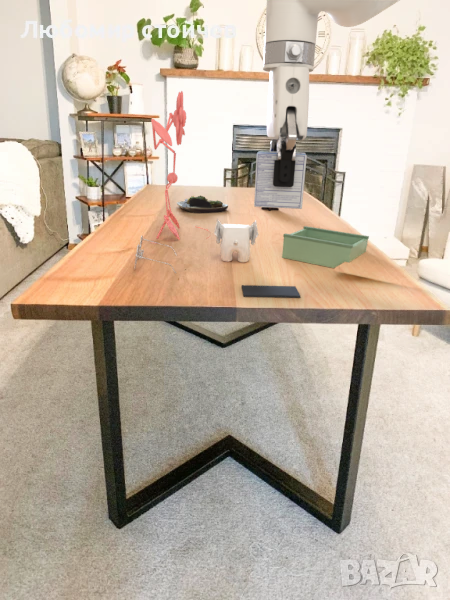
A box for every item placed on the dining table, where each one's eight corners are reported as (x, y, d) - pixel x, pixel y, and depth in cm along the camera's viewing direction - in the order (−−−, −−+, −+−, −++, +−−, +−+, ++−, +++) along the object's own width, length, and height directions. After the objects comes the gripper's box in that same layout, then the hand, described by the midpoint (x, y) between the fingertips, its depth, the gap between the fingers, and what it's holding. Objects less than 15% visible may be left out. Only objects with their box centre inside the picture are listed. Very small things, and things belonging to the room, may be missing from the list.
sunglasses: (139, 254, 99) (142, 233, 98) (176, 260, 101) (179, 239, 99) (132, 273, 87) (135, 249, 85) (175, 280, 88) (179, 256, 86)
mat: (295, 288, 82) (295, 286, 82) (300, 298, 78) (300, 295, 77) (241, 287, 82) (241, 285, 82) (243, 296, 77) (243, 294, 77)
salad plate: (166, 204, 163) (165, 192, 161) (210, 202, 170) (210, 190, 169) (186, 214, 147) (186, 200, 145) (233, 211, 154) (234, 198, 153)
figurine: (148, 247, 106) (144, 85, 93) (160, 224, 130) (157, 93, 117) (213, 248, 107) (216, 88, 94) (212, 226, 131) (215, 96, 118)
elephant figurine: (254, 251, 106) (257, 214, 102) (257, 266, 94) (259, 225, 91) (214, 249, 106) (216, 212, 102) (212, 264, 94) (213, 223, 91)
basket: (365, 259, 102) (369, 236, 100) (348, 271, 93) (351, 245, 91) (302, 247, 111) (305, 226, 109) (281, 257, 101) (283, 234, 99)
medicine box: (301, 205, 76) (306, 152, 72) (302, 210, 71) (307, 153, 68) (255, 203, 76) (258, 150, 73) (253, 207, 72) (256, 151, 69)
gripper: (329, 51, 58) (315, 192, 65) (300, 67, 74) (291, 179, 81) (273, 49, 58) (264, 190, 64) (256, 66, 74) (251, 178, 80)
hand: (279, 183), depth 73 cm, fingers closed on medicine box, 5 cm apart
